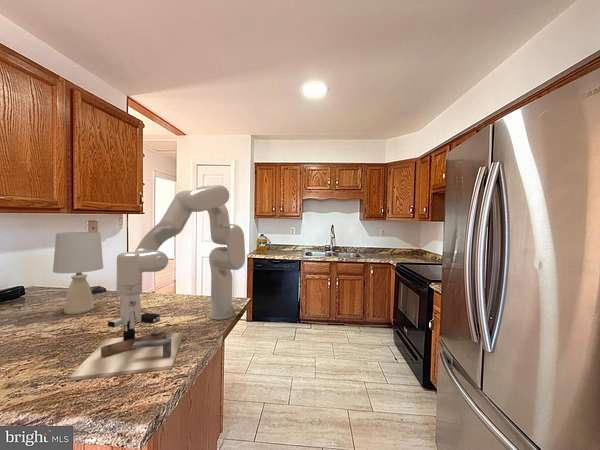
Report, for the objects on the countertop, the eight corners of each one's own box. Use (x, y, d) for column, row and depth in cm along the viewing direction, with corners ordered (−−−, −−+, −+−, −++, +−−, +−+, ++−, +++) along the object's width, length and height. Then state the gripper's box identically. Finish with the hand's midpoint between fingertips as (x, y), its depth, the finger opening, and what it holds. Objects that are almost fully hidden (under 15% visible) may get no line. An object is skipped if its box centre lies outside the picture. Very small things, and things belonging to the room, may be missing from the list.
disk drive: (99, 290, 172) (69, 295, 159) (99, 285, 172) (69, 290, 159) (106, 292, 166) (75, 298, 153) (106, 288, 166) (75, 293, 153)
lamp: (43, 313, 127) (43, 232, 126) (87, 302, 144) (87, 231, 144) (68, 320, 120) (68, 234, 119) (112, 307, 137) (112, 232, 137)
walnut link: (162, 335, 103) (162, 330, 103) (166, 339, 100) (166, 333, 100) (99, 352, 89) (99, 346, 89) (102, 357, 86) (102, 351, 86)
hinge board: (183, 334, 107) (183, 319, 107) (171, 368, 83) (172, 348, 83) (105, 341, 100) (105, 325, 100) (68, 380, 76) (68, 359, 76)
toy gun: (140, 325, 110) (161, 313, 122) (106, 320, 114) (130, 310, 126) (140, 333, 111) (162, 320, 122) (107, 328, 114) (131, 317, 126)
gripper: (147, 291, 92) (146, 346, 93) (137, 283, 104) (136, 332, 104) (120, 295, 88) (119, 353, 88) (113, 285, 99) (112, 337, 99)
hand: (129, 341), depth 96 cm, fingers closed
